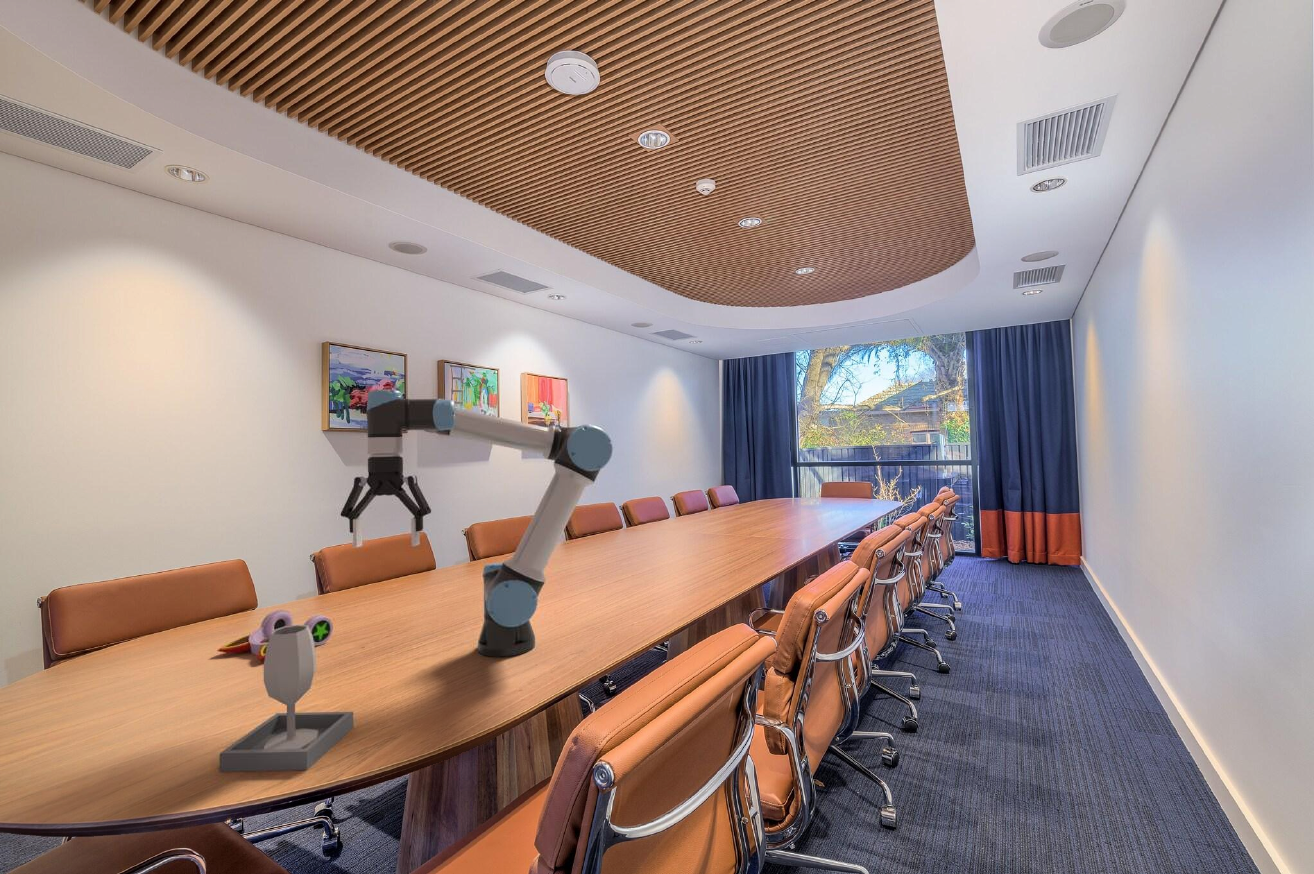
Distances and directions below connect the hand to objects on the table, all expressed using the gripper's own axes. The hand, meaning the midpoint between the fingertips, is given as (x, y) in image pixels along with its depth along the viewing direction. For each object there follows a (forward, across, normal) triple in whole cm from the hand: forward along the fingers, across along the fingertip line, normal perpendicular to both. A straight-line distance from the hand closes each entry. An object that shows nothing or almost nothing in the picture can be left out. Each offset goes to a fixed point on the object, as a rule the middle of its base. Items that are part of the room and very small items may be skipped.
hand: (386, 546), depth 138 cm
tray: (+32, +4, +30) cm, 44 cm away
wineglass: (+31, +4, +30) cm, 43 cm away
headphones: (+32, +43, -25) cm, 59 cm away
